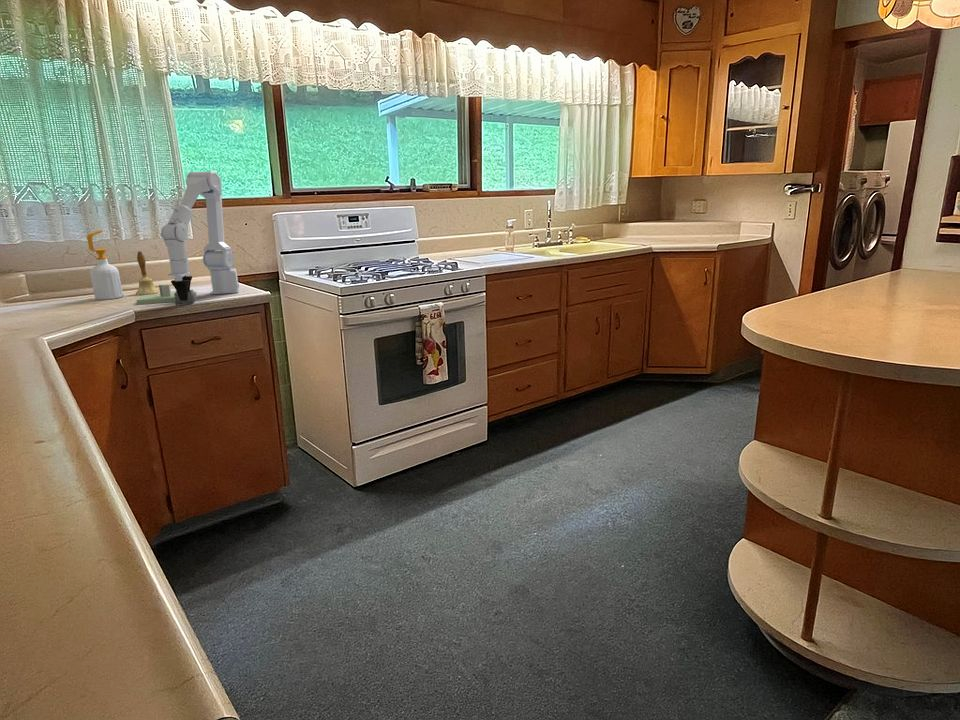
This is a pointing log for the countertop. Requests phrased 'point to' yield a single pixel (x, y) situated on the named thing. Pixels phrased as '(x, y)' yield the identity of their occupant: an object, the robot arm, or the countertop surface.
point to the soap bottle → (104, 275)
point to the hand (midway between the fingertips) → (185, 298)
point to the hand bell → (145, 279)
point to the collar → (189, 300)
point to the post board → (159, 296)
